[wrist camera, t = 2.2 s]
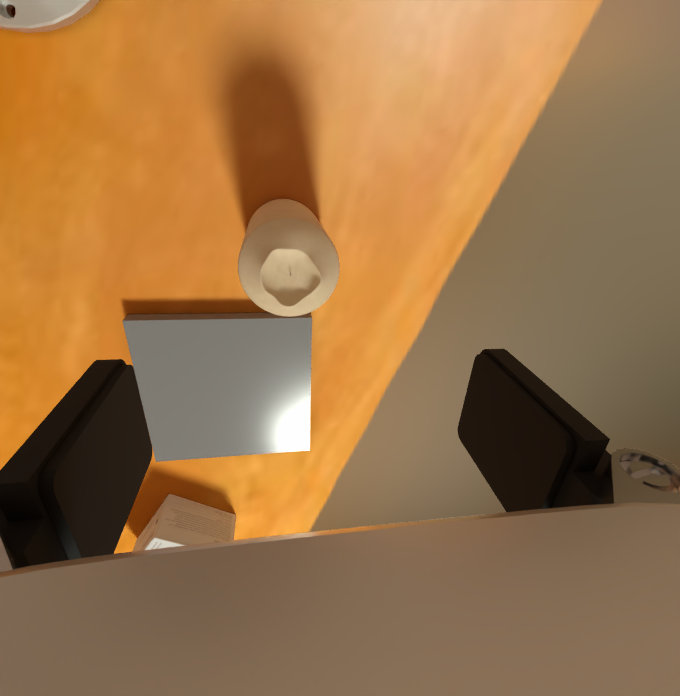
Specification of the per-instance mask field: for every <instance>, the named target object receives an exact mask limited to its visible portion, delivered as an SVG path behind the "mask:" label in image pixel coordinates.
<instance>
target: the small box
mask: <svg viewBox="0 0 680 696" xmlns="http://www.w3.org/2000/svg"><path fill="white" fill-rule="evenodd" d="M235 521H236V515H235V514H233V513H229V512H226V511H223V510H220V509H216V508H213V507H210V506H207V505H204V504H201V503H198V502H195V501H191V500H188V499H185V498H182V497H179V496H176V495H173V494H168V496H167V497H166V499H165V500H164V502H163V503H162V504H161V506H160V507H159V509H158V510H157V512H156V513H155V515H154V516H153V517H152V519H151V520H150V522H149V523H148V525H147V526H146V527H145V529H144V530H143V531H142V533H141V534H140V535H139V537H138V538H137V540H136V543H135V546H134V549H133V552H134V551H142V550H151V549H159V548H167V547H176V546H186V545H195V544H204V543H213V542H222V541H232V540H234V531H235Z"/></svg>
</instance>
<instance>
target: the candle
mask: <svg viewBox="0 0 680 696" xmlns="http://www.w3.org/2000/svg"><path fill="white" fill-rule="evenodd" d="M238 273H239V278H240V282H241V284H242V287H243V289H244V291H245V292H246V294H247V295H248V296H249V298H250V299H251V300H252V301H253V302H254V303H255V304H256V305H258V306H259V307H260V308H262V309H264V310H265V311H267V312H270V313H272V314H275V315H280V316H289V317H290V316H299V315H304V314H307V313H309V312H312V311H314V310H315V309H317V308H319V307H320V306H321V305H322V304H324V303H325V302H326V301H327V300H328V298H329V297H330V296H331V294H332V293H333V291H334V289H335V287H336V284H337V281H338V278H339V258H338V254H337V251H336V249H335V246H334V245H333V243H332V241H331V239H330V238H329V236H328V235H327V233H326V232H325V230H324V229H323V227H322V225H321V224H320V222H319V221H318V219H317V218H316V216H315V215H314V214H313V213H312V211H311V210H310V209H309V208H307V207H306V206H305V205H303V204H301V203H299V202H297V201H294V200H290V199H276V200H272V201H269V202H267V203H265V204H264V205H262V206H261V207H260V208H258V209H257V210H256V212H255V213H254V214H253V216H252V217H251V219H250V222H249V224H248V227H247V230H246V234H245V237H244V240H243V244H242V247H241V251H240V254H239V259H238Z"/></svg>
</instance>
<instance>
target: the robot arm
mask: <svg viewBox="0 0 680 696" xmlns="http://www.w3.org/2000/svg"><path fill="white" fill-rule="evenodd" d="M99 1H100V0H0V28H1V29H6V30H13V31H19V32H26V33H30V32H45V31H52V30H56V29H59V28H62V27H65V26H68V25H71V24H73V23H74V22H76V21H77V20H79V19H80V18H82V17H83V16H85V15H86V14H88V13H89V12H90V11H91V10H92V9H93V8H94V6H95V5H96V4H97V3H98V2H99ZM13 7H15V9H16V15H15V16H14V17H13V16H12V13H11V9H12V8H13ZM458 435H459V438H460V440H461V442H462V443H463V445H464V447H465V448H466V449H467V451H468V453H469V454H470V456H471V457H472V459H473V460H474V462H475V463H476V465H477V467H478V468H479V470H480V471H481V473H482V474H483V476H484V478H485V479H486V481H487V482H488V484H489V485H490V487H491V489H492V490H493V492H494V493H495V495H496V496H497V498H498V499H499V501H500V502H501V504H502V506H503V507H504V509H505V510H506V512H505V513H495V514H484V515H474V516H464V517H454V518H443V519H433V520H424V521H413V522H403V523H394V524H383V525H373V526H364V527H354V528H344V529H336V530H325V531H316V532H306V533H296V534H287V535H278V536H269V537H259V538H250V539H241V540H232V541H222V542H213V543H204V544H195V545H186V546H176V547H167V548H159V549H151V550H142V551H134V552H126V553H118V554H113V553H114V551H115V548H116V546H117V543H118V541H119V538H120V536H121V533H122V531H123V528H124V526H125V524H126V521H127V519H128V516H129V514H130V511H131V509H132V506H133V504H134V501H135V499H136V496H137V494H138V491H139V489H140V486H141V484H142V481H143V479H144V476H145V474H146V471H147V469H148V466H149V464H150V461H151V458H152V444H151V440H150V436H149V431H148V427H147V423H146V419H145V414H144V410H143V406H142V401H141V397H140V393H139V389H138V384H137V380H136V376H135V371H134V368H133V366H132V365H126V363H125V362H124V361H123V360H122V359H118V360H96V361H95V362H94V363H93V364H92V365H91V366H90V367H89V368H88V369H87V371H86V372H85V373H84V374H83V375H82V376H81V378H80V379H79V380H78V381H77V382H76V383H75V385H74V386H73V387H72V388H71V389H70V390H69V391H68V393H67V394H66V395H65V396H64V397H63V398H62V400H61V401H60V402H59V403H58V404H57V405H56V407H55V408H54V409H53V410H52V411H51V412H50V414H49V415H48V416H47V417H46V418H45V419H44V420H43V422H42V423H41V424H40V425H39V426H38V427H37V429H36V430H35V431H34V432H33V433H32V434H31V436H30V437H29V438H28V439H27V440H26V441H25V442H24V444H23V445H22V446H21V447H20V448H19V449H18V451H17V452H16V453H15V454H14V455H13V456H12V458H11V459H10V460H9V461H8V462H7V463H6V465H5V466H4V467H3V468H2V469H1V470H0V696H680V469H678V468H677V467H675V466H674V465H673V464H672V463H670V462H668V461H666V460H664V459H662V458H661V457H659V456H656V455H654V454H651V453H649V452H646V451H642V450H638V449H631V448H622V449H617V450H616V451H614V452H613V453H612V455H610V454H609V453H608V452H607V451H606V450H605V449H606V447H607V445H608V442H609V440H610V439H609V438H608V437H607V436H606V435H605V434H603V433H602V432H601V431H600V430H599V429H598V428H596V427H595V426H594V425H593V424H592V423H591V422H589V421H588V420H587V419H586V418H585V417H583V416H582V415H581V414H580V413H579V412H578V411H577V410H575V409H574V408H573V407H572V406H571V405H570V404H568V403H567V402H566V401H565V400H564V399H562V398H561V397H560V396H559V395H558V394H557V393H556V392H554V391H553V390H552V389H551V388H550V387H548V386H547V385H546V384H545V383H544V382H543V381H542V380H540V379H539V378H538V377H537V376H536V375H535V374H533V373H532V372H531V371H530V370H529V369H528V368H526V367H525V366H524V365H523V364H522V363H521V362H519V361H518V360H517V359H516V358H515V357H514V356H512V355H511V354H510V353H509V352H508V351H507V350H505V349H484V350H483V351H482V352H481V353H480V354H478V355H477V356H476V357H475V360H474V364H473V368H472V372H471V376H470V380H469V385H468V388H467V393H466V396H465V401H464V405H463V409H462V413H461V417H460V421H459V425H458Z"/></svg>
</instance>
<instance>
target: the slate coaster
mask: <svg viewBox="0 0 680 696" xmlns="http://www.w3.org/2000/svg"><path fill="white" fill-rule="evenodd" d="M123 325H124V329H125V333H126V337H127V342H128V346H129V350H130V354H131V358H132V363H133V367H134V371H135V375H136V379H137V384H138V388H139V392H140V396H141V400H142V405H143V409H144V413H145V417H146V421H147V426H148V430H149V434H150V438H151V442H152V447H153V451H154V455H155V459H156V462H158V461H171V460H185V459H198V458H212V457H225V456H239V455H252V454H266V453H279V452H293V451H306V450H309V449H310V395H311V340H312V316H311V312H309V313H307V314H304V315H299V316H290V317H289V316H280V315H275V314H272V313H199V314H128V315H127V316H126V317H125V318H124V320H123Z"/></svg>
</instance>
